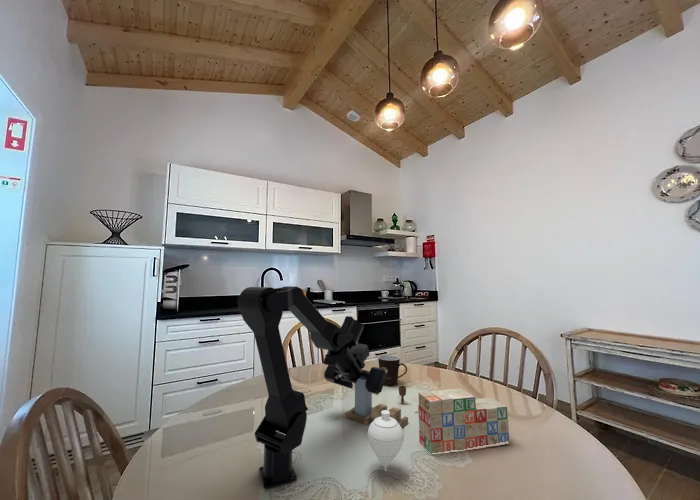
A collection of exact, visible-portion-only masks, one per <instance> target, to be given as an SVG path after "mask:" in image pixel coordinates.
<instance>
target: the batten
mask: <svg viewBox="0 0 700 500" xmlns="http://www.w3.org/2000/svg"><path fill="white" fill-rule="evenodd" d="M365 384H366V380H364V379H360V378H359V379H358V380H357V382H356V383H354V407H355V414H357V415H361V416H364V417H367V416H368V415H370V414H371V409H372V407H373V402H372V401H373V400H372V399H373V396H372V395H373V393H371V392H368V390H367V389H366V387H365Z"/></svg>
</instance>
